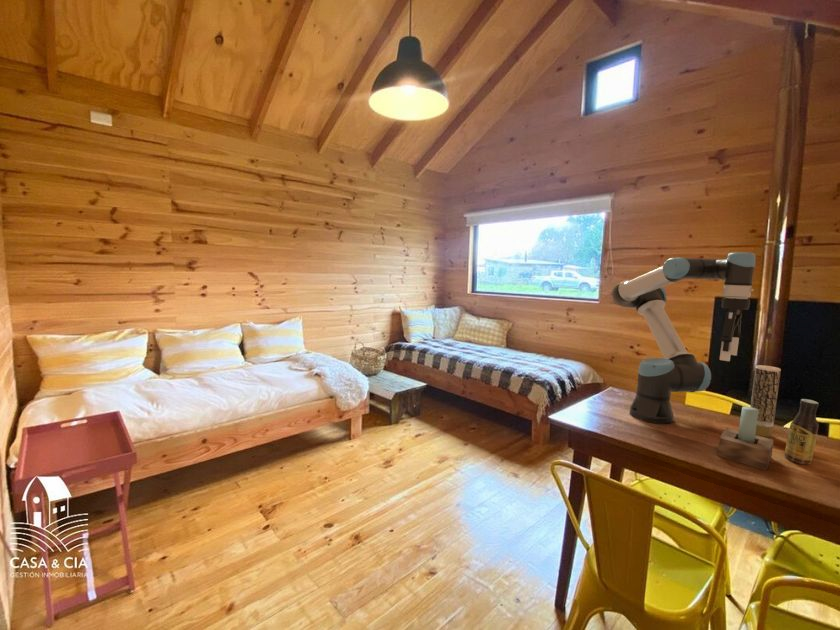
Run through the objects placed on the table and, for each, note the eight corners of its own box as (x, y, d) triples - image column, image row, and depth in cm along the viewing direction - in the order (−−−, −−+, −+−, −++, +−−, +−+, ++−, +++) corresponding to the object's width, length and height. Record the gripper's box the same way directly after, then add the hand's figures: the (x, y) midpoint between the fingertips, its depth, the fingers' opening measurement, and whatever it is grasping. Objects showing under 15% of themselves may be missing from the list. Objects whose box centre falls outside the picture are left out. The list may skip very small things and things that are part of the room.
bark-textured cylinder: (776, 438, 138) (786, 370, 134) (755, 437, 139) (763, 369, 136) (763, 430, 144) (772, 365, 141) (743, 429, 145) (751, 364, 142)
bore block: (717, 455, 124) (719, 437, 123) (724, 444, 132) (726, 427, 131) (766, 470, 115) (769, 451, 115) (771, 457, 124) (773, 439, 123)
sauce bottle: (778, 455, 125) (787, 396, 122) (796, 455, 125) (805, 396, 123) (800, 466, 118) (810, 404, 116) (818, 465, 119) (828, 404, 116)
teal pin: (735, 450, 124) (740, 408, 122) (737, 446, 126) (743, 405, 125) (751, 454, 121) (757, 412, 119) (753, 451, 123) (759, 409, 122)
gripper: (744, 300, 122) (735, 365, 125) (755, 297, 139) (747, 354, 142) (715, 298, 128) (707, 360, 130) (729, 295, 145) (722, 350, 147)
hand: (728, 357), depth 136 cm, fingers open, 13 cm apart
